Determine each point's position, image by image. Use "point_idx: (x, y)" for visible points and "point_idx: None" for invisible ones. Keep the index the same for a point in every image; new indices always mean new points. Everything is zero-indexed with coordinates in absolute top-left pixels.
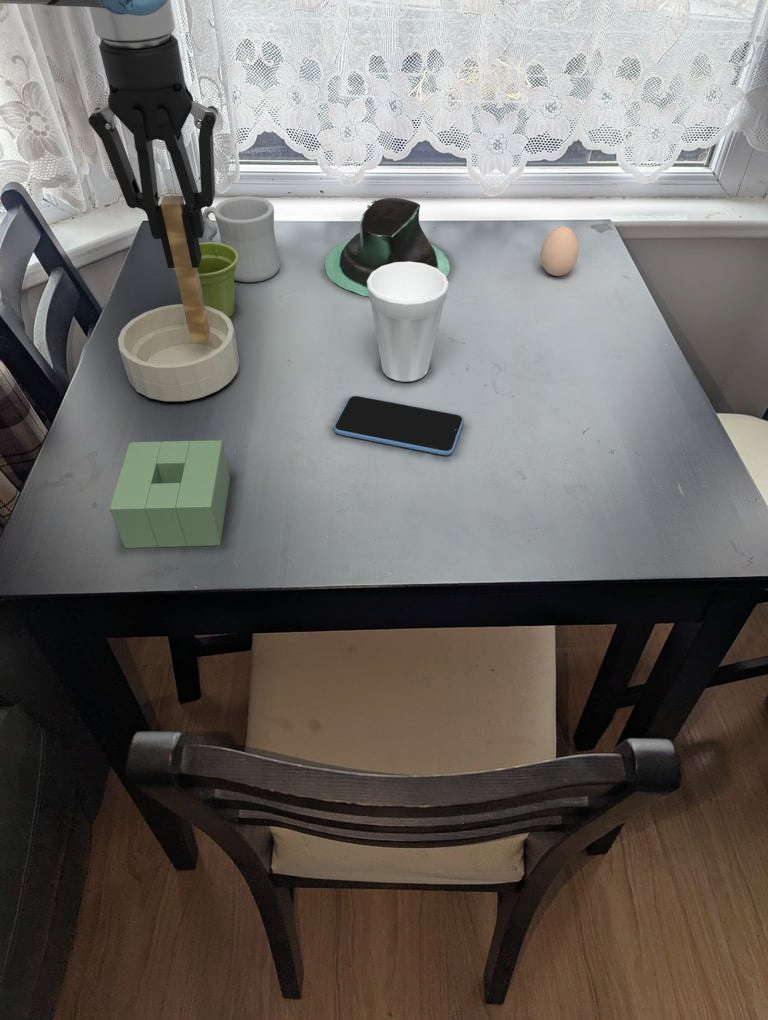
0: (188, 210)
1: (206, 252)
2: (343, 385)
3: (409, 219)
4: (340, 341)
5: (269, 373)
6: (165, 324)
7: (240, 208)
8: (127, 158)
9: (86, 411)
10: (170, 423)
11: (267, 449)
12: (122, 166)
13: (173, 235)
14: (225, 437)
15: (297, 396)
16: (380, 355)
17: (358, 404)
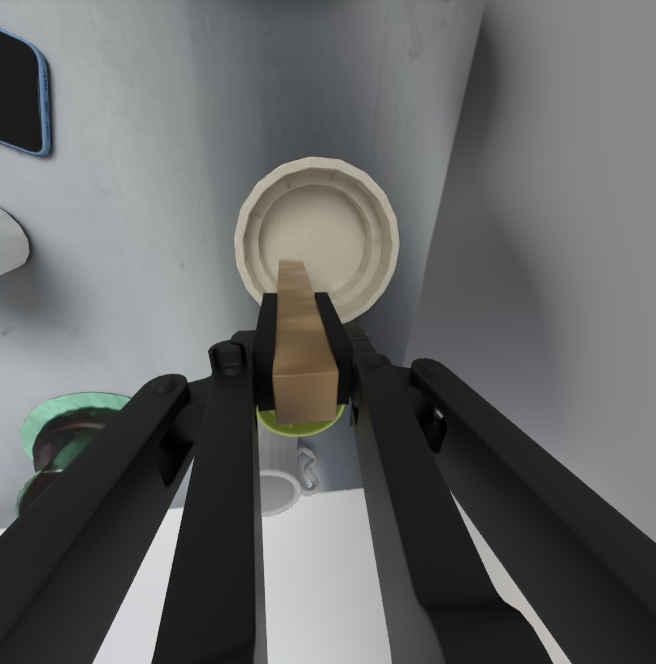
0: (240, 352)
1: (303, 424)
2: (80, 200)
3: (17, 504)
4: (122, 306)
5: (202, 237)
6: (342, 307)
7: (274, 498)
8: (488, 535)
9: (424, 165)
10: (318, 123)
11: (154, 20)
12: (527, 478)
13: (308, 326)
14: (232, 71)
15: (145, 176)
16: (4, 236)
17: (16, 122)
